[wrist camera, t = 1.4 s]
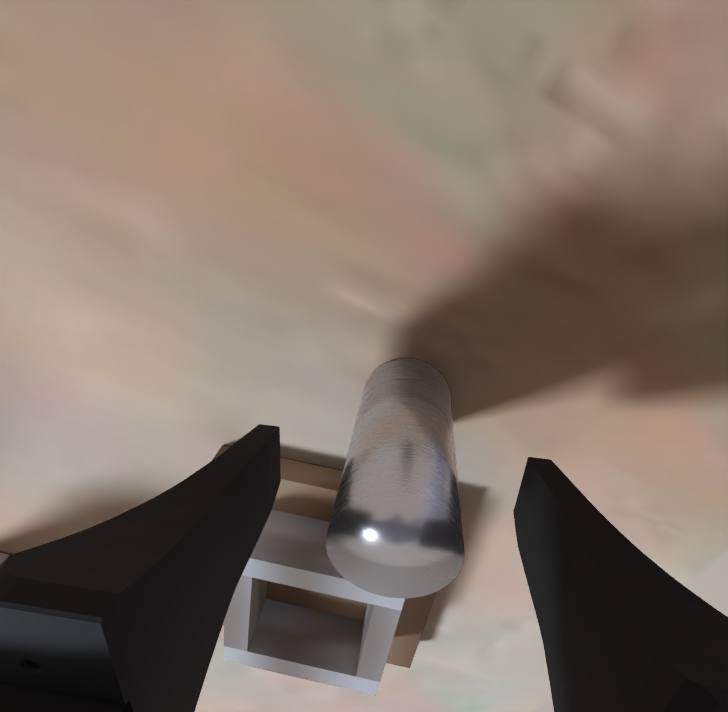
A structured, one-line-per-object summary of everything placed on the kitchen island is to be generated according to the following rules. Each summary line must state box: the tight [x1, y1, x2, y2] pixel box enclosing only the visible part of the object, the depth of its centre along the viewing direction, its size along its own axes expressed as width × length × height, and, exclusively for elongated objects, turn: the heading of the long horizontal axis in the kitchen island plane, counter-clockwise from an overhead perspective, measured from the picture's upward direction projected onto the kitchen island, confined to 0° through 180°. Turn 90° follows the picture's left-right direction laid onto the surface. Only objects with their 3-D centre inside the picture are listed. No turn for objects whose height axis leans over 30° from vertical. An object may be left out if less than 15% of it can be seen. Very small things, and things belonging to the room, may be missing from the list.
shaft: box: [326, 359, 464, 598], centre depth 14 cm, size 3×3×7 cm
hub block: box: [212, 445, 462, 696], centre depth 19 cm, size 10×10×4 cm
